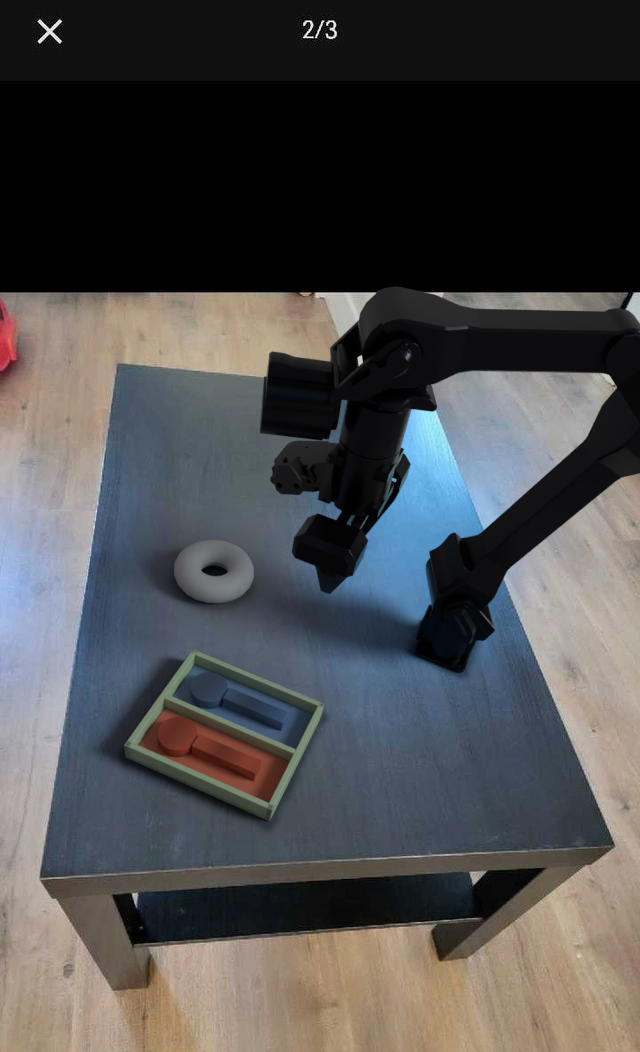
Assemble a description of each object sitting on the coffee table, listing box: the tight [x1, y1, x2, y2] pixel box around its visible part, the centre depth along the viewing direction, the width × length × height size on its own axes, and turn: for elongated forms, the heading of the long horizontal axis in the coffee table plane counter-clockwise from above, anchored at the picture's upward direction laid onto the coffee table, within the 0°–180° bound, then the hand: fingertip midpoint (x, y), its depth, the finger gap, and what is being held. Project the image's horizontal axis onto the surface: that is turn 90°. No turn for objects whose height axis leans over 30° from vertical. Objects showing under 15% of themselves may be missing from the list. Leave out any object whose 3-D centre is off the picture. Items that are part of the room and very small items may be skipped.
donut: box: [173, 539, 255, 604], centre depth 86 cm, size 10×3×10 cm
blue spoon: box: [190, 672, 288, 731], centre depth 74 cm, size 11×4×2 cm, turn 68°
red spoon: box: [157, 717, 262, 781], centre depth 69 cm, size 11×4×2 cm, turn 68°
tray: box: [123, 649, 325, 822], centre depth 72 cm, size 16×14×2 cm
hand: (340, 565), depth 75 cm, fingers open, 9 cm apart
